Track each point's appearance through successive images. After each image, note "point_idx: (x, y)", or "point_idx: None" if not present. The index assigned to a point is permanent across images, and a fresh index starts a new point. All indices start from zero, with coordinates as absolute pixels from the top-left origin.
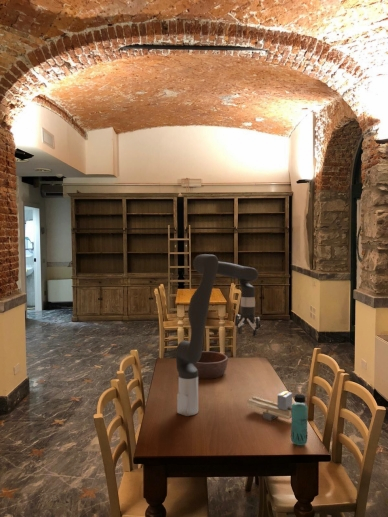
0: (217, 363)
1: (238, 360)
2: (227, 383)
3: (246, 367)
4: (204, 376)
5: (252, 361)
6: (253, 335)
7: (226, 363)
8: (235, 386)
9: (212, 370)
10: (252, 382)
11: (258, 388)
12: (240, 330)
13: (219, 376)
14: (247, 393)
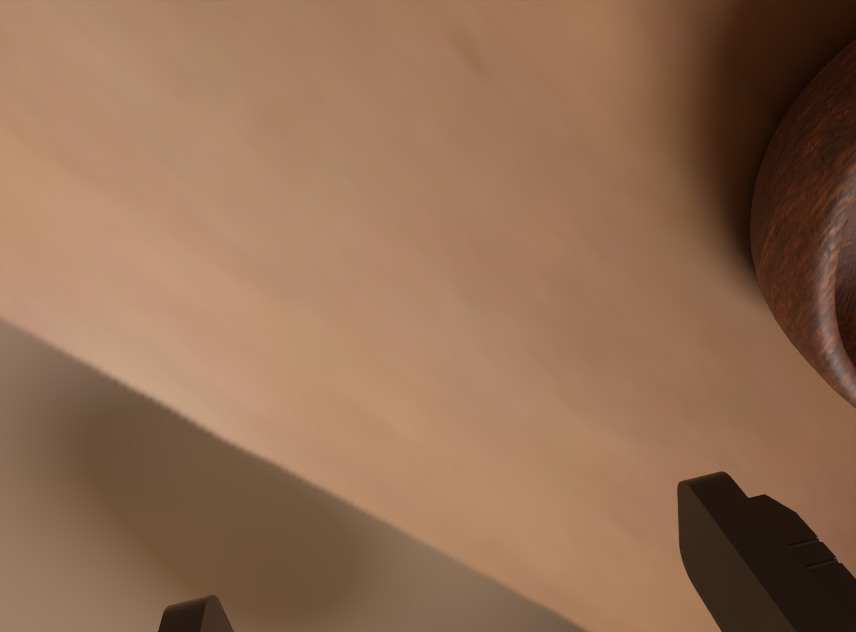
0: (836, 177)
1: None
2: (601, 148)
3: None
4: (852, 41)
5: None
6: (177, 629)
7: (791, 322)
8: (497, 151)
9: (823, 107)
10: (457, 337)
11: (323, 278)
12: (747, 589)
13: (752, 199)
14: (296, 107)
